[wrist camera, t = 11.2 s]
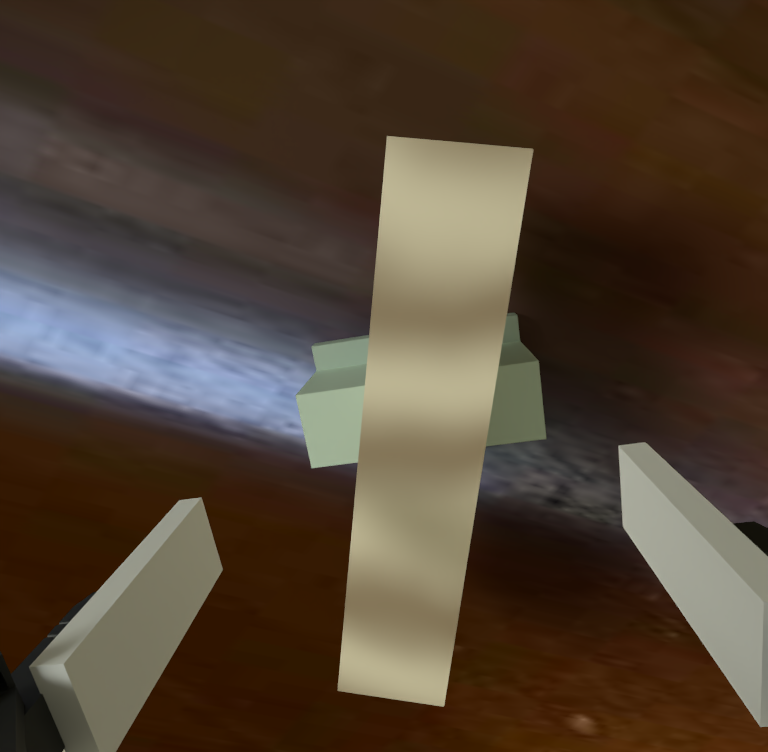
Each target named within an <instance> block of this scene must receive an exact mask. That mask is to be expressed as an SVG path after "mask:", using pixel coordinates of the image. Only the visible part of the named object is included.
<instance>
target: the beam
mask: <svg viewBox="0 0 768 752" xmlns="http://www.w3.org/2000/svg"><path fill="white" fill-rule="evenodd" d="M532 154H533V149H528V148H517V147H506V146H494V145H483V144H472V143H460V142H449V141H437V140H426V139H415V138H403V137H392V136H387V143H386V154H385V165H384V176H383V188H382V199H381V210H380V221H379V233H378V244H377V255H376V266H375V277H374V289H373V300H372V311H371V322H370V333H369V345H368V356H367V367H366V378H365V389H364V401H363V412H362V423H361V434H360V446H359V457H358V468H357V479H356V490H355V502H354V513H353V524H352V535H351V546H350V558H349V569H348V580H347V591H346V602H345V614H344V625H343V636H342V647H341V659H340V670H339V681H338V691H343V692H349V693H356V694H363V695H369V696H376V697H383V698H390V699H396V700H403V701H410V702H416V703H423V704H430V705H436V706H443V707H444V704H445V697H446V691H447V685H448V679H449V672H450V666H451V660H452V654H453V647H454V641H455V635H456V629H457V622H458V616H459V610H460V604H461V597H462V591H463V585H464V579H465V572H466V566H467V560H468V554H469V548H470V541H471V535H472V529H473V523H474V516H475V510H476V504H477V498H478V491H479V485H480V479H481V473H482V466H483V460H484V454H485V448H486V441H487V435H488V429H489V423H490V416H491V410H492V404H493V398H494V391H495V385H496V379H497V373H498V367H499V360H500V354H501V348H502V342H503V335H504V329H505V323H506V317H507V310H508V304H509V298H510V292H511V285H512V279H513V273H514V267H515V260H516V254H517V248H518V242H519V235H520V229H521V223H522V217H523V211H524V204H525V198H526V192H527V186H528V179H529V173H530V167H531V161H532Z"/></svg>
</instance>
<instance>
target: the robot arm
mask: <svg viewBox="0 0 768 752" xmlns="http://www.w3.org/2000/svg"><path fill="white" fill-rule="evenodd" d="M618 447H619V465H620V484H621V502H622V520H623V528H624V529H625V531H626V532H627V534H628V535H629V536H630V538H631V539H632V541H633V542H634V544H635V545H636V547H637V548H638V550H639V551H640V553H641V554H642V555H643V557H644V558H645V560H646V561H647V563H648V564H649V566H650V567H651V569H652V570H653V571H654V573H655V574H656V576H657V577H658V579H659V580H660V582H661V583H662V585H663V586H664V587H665V589H666V590H667V592H668V593H669V595H670V596H671V598H672V599H673V601H674V602H675V603H676V605H677V606H678V608H679V609H680V611H681V612H682V614H683V615H684V617H685V618H686V619H687V621H688V622H689V624H690V625H691V627H692V628H693V630H694V631H695V633H696V634H697V635H698V637H699V638H700V640H701V641H702V643H703V644H704V646H705V647H706V649H707V650H708V651H709V653H710V654H711V656H712V657H713V659H714V660H715V662H716V663H717V665H718V666H719V667H720V669H721V670H722V672H723V673H724V675H725V676H726V678H727V679H728V681H729V682H730V683H731V685H732V686H733V688H734V689H735V691H736V692H737V694H738V695H739V697H740V698H741V700H742V701H743V702H744V704H745V705H746V707H747V708H748V710H749V711H750V713H751V714H752V716H753V717H754V718H755V720H756V721H757V723H758V724H759V726H760V727H767V726H768V528H766V527H764V526H762V525H760V524H758V523H756V522H744V523H735V524H732V523H731V522H730V521H729V520H728V519H727V518H726V517H725V516H724V515H723V514H722V513H721V512H720V511H718V510H717V509H716V508H715V507H714V506H713V505H712V504H711V503H710V502H709V501H708V500H707V499H706V498H705V497H703V496H702V495H701V494H700V493H699V492H698V491H697V490H696V489H695V488H694V487H693V486H692V485H691V484H690V483H688V482H687V481H686V480H685V479H684V478H683V477H682V476H681V475H680V474H679V473H678V472H677V471H676V470H675V469H673V468H672V467H671V466H670V465H669V464H668V463H667V462H666V461H665V460H664V459H663V458H662V457H661V456H660V455H658V454H657V453H656V452H655V451H654V450H653V449H652V448H651V447H650V446H649V445H648V444H647V443H646V442H643V443H635V444H627V445H619V446H618ZM222 570H223V569H222V566H221V562H220V559H219V555H218V552H217V549H216V545H215V542H214V538H213V535H212V532H211V528H210V525H209V521H208V518H207V515H206V511H205V508H204V504H203V501H202V498H194V499H186V500H179V501H178V502H177V504H176V505H175V506H174V507H173V508H172V509H171V510H170V511H169V512H168V514H167V515H166V516H165V517H164V518H163V519H162V520H161V521H160V522H159V524H158V525H157V526H156V527H155V528H154V529H153V530H152V531H151V532H150V533H149V535H148V536H147V537H146V538H145V539H144V540H143V541H142V542H141V543H140V545H139V546H138V547H137V548H136V549H135V550H134V551H133V552H132V553H131V555H130V556H129V557H128V558H127V559H126V560H125V561H124V562H123V563H122V564H121V566H120V567H119V568H118V569H117V570H116V571H115V572H114V573H113V574H112V576H111V577H110V578H109V579H108V580H107V581H106V582H105V583H104V584H103V585H102V587H101V588H100V589H99V590H98V591H97V592H93V593H92V594H91V595H89V596H88V597H86V598H85V599H84V600H82V601H81V602H80V603H78V604H77V605H75V606H74V607H73V608H72V609H71V610H70V611H69V612H68V613H67V615H66V616H65V617H64V618H63V619H62V620H61V621H60V622H59V623H60V624H59V625H56V626H55V627H54V629H53V630H52V631H51V632H50V633H49V634H48V637H47V638H44V639H43V640H42V641H41V643H40V644H39V645H38V646H37V647H36V648H35V649H34V650H33V651H32V652H31V653H30V654H29V655H28V657H27V658H26V659H25V660H24V661H23V662H22V663H21V664H20V665H19V666H18V667H17V668H16V669H15V671H14V672H13V673H12V674H10V672H9V669H8V667H7V665H6V663H5V660H4V658H3V656H2V654H1V652H0V752H62V751H63V749H65V751H66V752H116V750H117V749H118V747H119V745H120V743H121V742H122V740H123V738H124V737H125V735H126V733H127V732H128V730H129V728H130V726H131V725H132V723H133V721H134V720H135V718H136V716H137V715H138V713H139V711H140V709H141V708H142V706H143V704H144V703H145V701H146V699H147V698H148V696H149V694H150V692H151V691H152V689H153V687H154V686H155V684H156V682H157V681H158V679H159V677H160V675H161V674H162V672H163V670H164V669H165V667H166V665H167V664H168V662H169V660H170V658H171V657H172V655H173V653H174V652H175V650H176V648H177V647H178V645H179V643H180V642H181V640H182V638H183V636H184V635H185V633H186V631H187V630H188V628H189V626H190V625H191V623H192V621H193V619H194V618H195V616H196V614H197V613H198V611H199V609H200V608H201V606H202V604H203V602H204V601H205V599H206V597H207V596H208V594H209V592H210V591H211V589H212V587H213V585H214V584H215V582H216V580H217V579H218V577H219V575H220V574H221V572H222Z"/></svg>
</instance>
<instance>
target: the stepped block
mask: <svg viewBox="0 0 768 752" xmlns="http://www.w3.org/2000/svg"><path fill="white" fill-rule="evenodd" d="M368 345H369V335H366V336H360V337H354V338H347V339H341V340H334V341H328V342H321V343H315V344H314V345H313V346H312V351H313V356H314V361H315V366H316V372H315V373H314V375H313V376H312V377H311V378H310V379H309V380H308V382H307V383H306V384H305V385H304V386H303V387H302V389H301V390H300V391H299V392H298V393H297V394H296V399H297V404H298V409H299V413H300V418H301V422H302V427H303V431H304V436H305V440H306V445H307V449H308V454H309V458H310V463H311V467H312V468H316V467H324V466H332V465H340V464H348V463H356V462H358V457H359V446H360V434H361V423H362V412H363V401H364V389H365V378H366V367H367V356H368ZM542 439H546V430H545V420H544V410H543V400H542V390H541V379H540V369H539V361H538V360H537V358H536V357H535V356H534V355H533V354H532V353H531V352H530V351H529V350H528V349H527V348H526V347H525V346H524V345H523V343H522V342H521V341H520V335H519V326H518V316H517V314H516V313H508V314H507V317H506V323H505V329H504V335H503V342H502V348H501V354H500V360H499V367H498V373H497V379H496V385H495V391H494V398H493V404H492V410H491V416H490V423H489V429H488V435H487V441H486V446H493V445H501V444H509V443H517V442H526V441H534V440H542Z"/></svg>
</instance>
